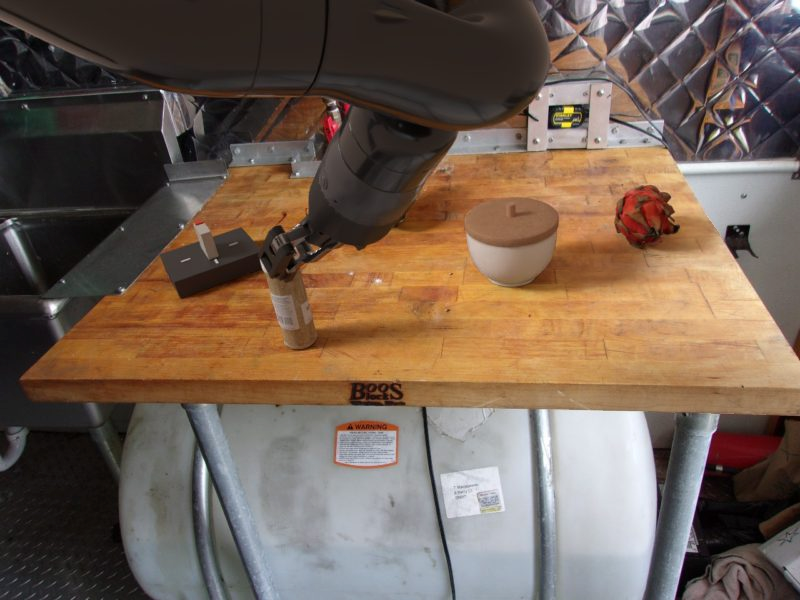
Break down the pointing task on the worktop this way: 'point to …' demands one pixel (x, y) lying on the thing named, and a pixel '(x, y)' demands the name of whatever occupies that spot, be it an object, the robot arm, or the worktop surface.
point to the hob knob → (205, 239)
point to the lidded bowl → (511, 239)
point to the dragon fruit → (644, 216)
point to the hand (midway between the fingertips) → (321, 257)
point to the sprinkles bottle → (293, 310)
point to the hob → (211, 262)
